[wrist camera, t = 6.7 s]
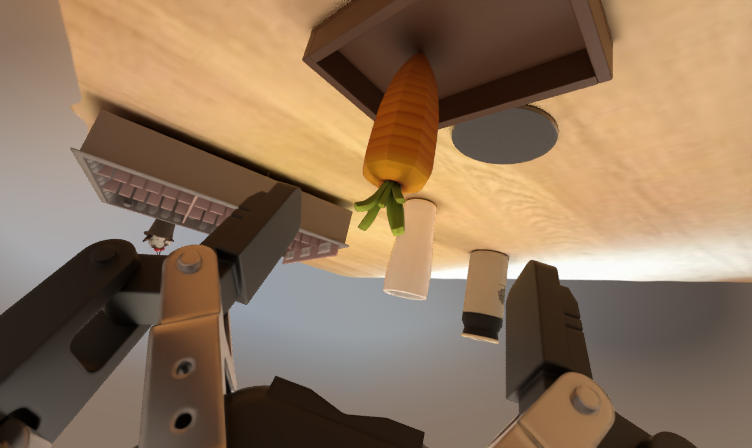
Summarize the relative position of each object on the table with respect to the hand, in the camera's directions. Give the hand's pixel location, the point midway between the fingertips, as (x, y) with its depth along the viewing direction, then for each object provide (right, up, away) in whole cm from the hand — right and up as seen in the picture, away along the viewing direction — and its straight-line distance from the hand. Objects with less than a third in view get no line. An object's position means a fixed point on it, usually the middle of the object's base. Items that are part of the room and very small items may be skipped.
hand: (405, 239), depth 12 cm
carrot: (+2, +14, +15) cm, 21 cm away
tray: (+4, +14, +13) cm, 20 cm away
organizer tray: (-29, +8, +55) cm, 63 cm away
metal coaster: (+12, +10, +23) cm, 28 cm away
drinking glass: (+6, +4, +45) cm, 45 cm away
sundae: (-52, +7, +76) cm, 93 cm away
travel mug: (+24, -6, +64) cm, 69 cm away
